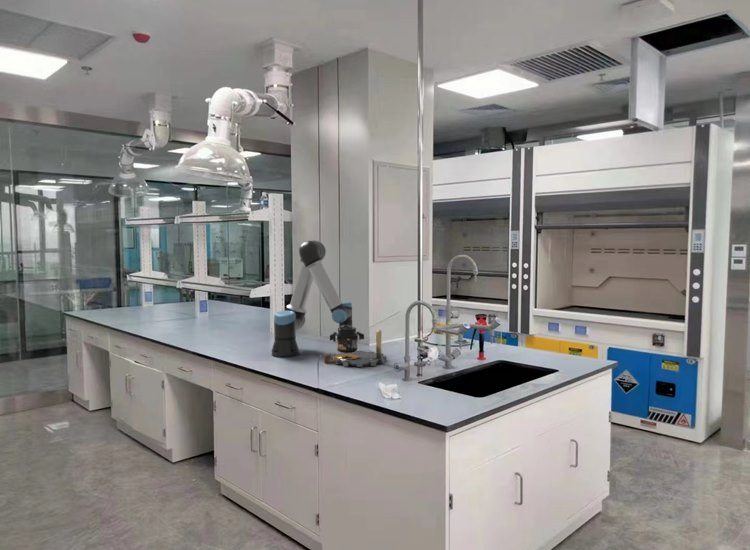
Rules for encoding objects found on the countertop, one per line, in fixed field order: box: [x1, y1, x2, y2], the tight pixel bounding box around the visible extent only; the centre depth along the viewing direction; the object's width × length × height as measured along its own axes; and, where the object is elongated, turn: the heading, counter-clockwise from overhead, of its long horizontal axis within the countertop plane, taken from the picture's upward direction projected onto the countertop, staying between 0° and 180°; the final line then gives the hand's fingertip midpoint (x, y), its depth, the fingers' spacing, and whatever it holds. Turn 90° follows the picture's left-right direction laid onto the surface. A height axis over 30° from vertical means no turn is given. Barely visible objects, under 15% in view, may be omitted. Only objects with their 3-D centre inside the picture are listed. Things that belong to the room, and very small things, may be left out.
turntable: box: [332, 329, 387, 368], centre depth 268 cm, size 28×28×16 cm
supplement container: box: [336, 326, 358, 354], centre depth 267 cm, size 10×10×12 cm
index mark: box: [324, 353, 332, 364], centre depth 267 cm, size 3×4×4 cm
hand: (347, 339), depth 263 cm, fingers closed on supplement container, 10 cm apart
